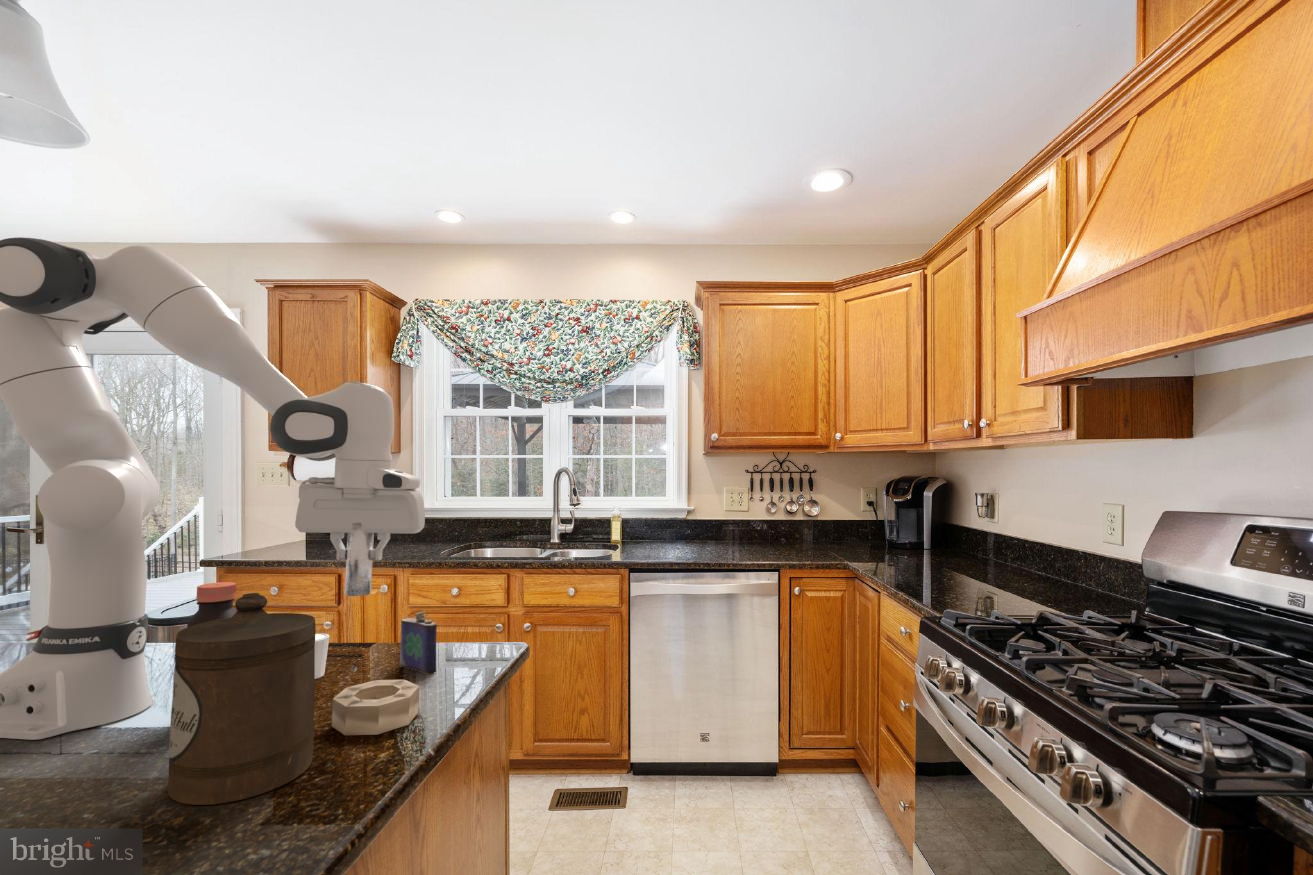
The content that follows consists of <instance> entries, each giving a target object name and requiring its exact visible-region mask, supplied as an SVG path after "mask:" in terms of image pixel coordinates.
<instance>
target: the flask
mask: <svg viewBox="0 0 1313 875" xmlns="http://www.w3.org/2000/svg"><path fill="white" fill-rule="evenodd" d="M426 613H427V612H426V611H425V610H424V611H419V612H414V616H415V618H413V617H412V618H408V617H407V618H403V619H401V621H400V623H401V624H400V626H401V627H400V628H401V629H400V635H401V636H400V654H399V667H401V668H402V667H404V668H403V669H408V670H409V669H411V670H410V671H413V670H414V671H416V672H417V671H418V672H420V673H422V674H425V675H427V674H428V675H432V674H435V673H437V627H438V626H437V622H433V620H431V619H428V618H427V617H426V616H425V615H424V614H426ZM418 672H417V673H418ZM434 672H435V673H434Z"/></svg>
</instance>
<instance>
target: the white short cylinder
mask: <svg viewBox="0 0 1313 875" xmlns="http://www.w3.org/2000/svg"><path fill="white" fill-rule="evenodd" d="M329 642H330V635H329V633H325V632H324V633H323V632H321V633H320V632H316V634H315V680H316V679H320V678H322V677H323V676H325V672H326V664H327V657H328V650H329V649H328V648H329Z"/></svg>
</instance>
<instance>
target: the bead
mask: <svg viewBox="0 0 1313 875" xmlns="http://www.w3.org/2000/svg"><path fill="white" fill-rule="evenodd" d="M419 699H420V685H418V684H415V683H413V682H411V681H408V680H406V679H378V680H377V679H376V680H371V681H367V682H364V683H363V682H362V683H359V684H356V685H351V686H347V687H345V688H344V689H343V690H342V691H339V693H338V694H337V695H336V696H334V697H333V698H332V706H331V708H332V709H331V710H332V711H331V727H332V728H333V729H334V730H336V731H338V732H339V733H341V734H342V735H344V736H363V735H364V736H366V735H367V736H370V735H371V736H372V735H375V736H376V735H380V734H384V733H387V732H390V731H393V730H395V729H396V730H397V729H399V728H402V727H406V726H408V725H409V726H410V724H411V722H412V721H413V720H414V718H415V717H416V716H417V715H418V714H419V707H420V706H419V703H420V702H419V701H420V700H419Z"/></svg>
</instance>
